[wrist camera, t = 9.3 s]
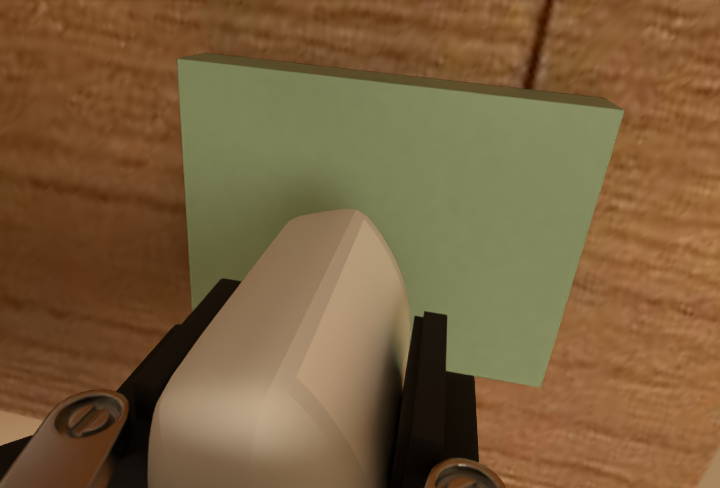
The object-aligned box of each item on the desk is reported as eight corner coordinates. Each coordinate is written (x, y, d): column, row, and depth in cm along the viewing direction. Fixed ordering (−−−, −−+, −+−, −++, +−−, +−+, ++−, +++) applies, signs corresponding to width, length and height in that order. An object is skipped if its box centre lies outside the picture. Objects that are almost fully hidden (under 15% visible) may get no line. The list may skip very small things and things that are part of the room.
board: (205, 52, 22) (176, 58, 19) (605, 97, 20) (625, 109, 18) (214, 300, 27) (192, 327, 24) (533, 353, 25) (541, 388, 23)
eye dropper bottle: (456, 236, 14) (464, 1089, 3) (391, 392, 16) (264, 1168, 5) (299, 183, 14) (-257, 813, 3) (258, 346, 16) (-128, 1013, 5)
